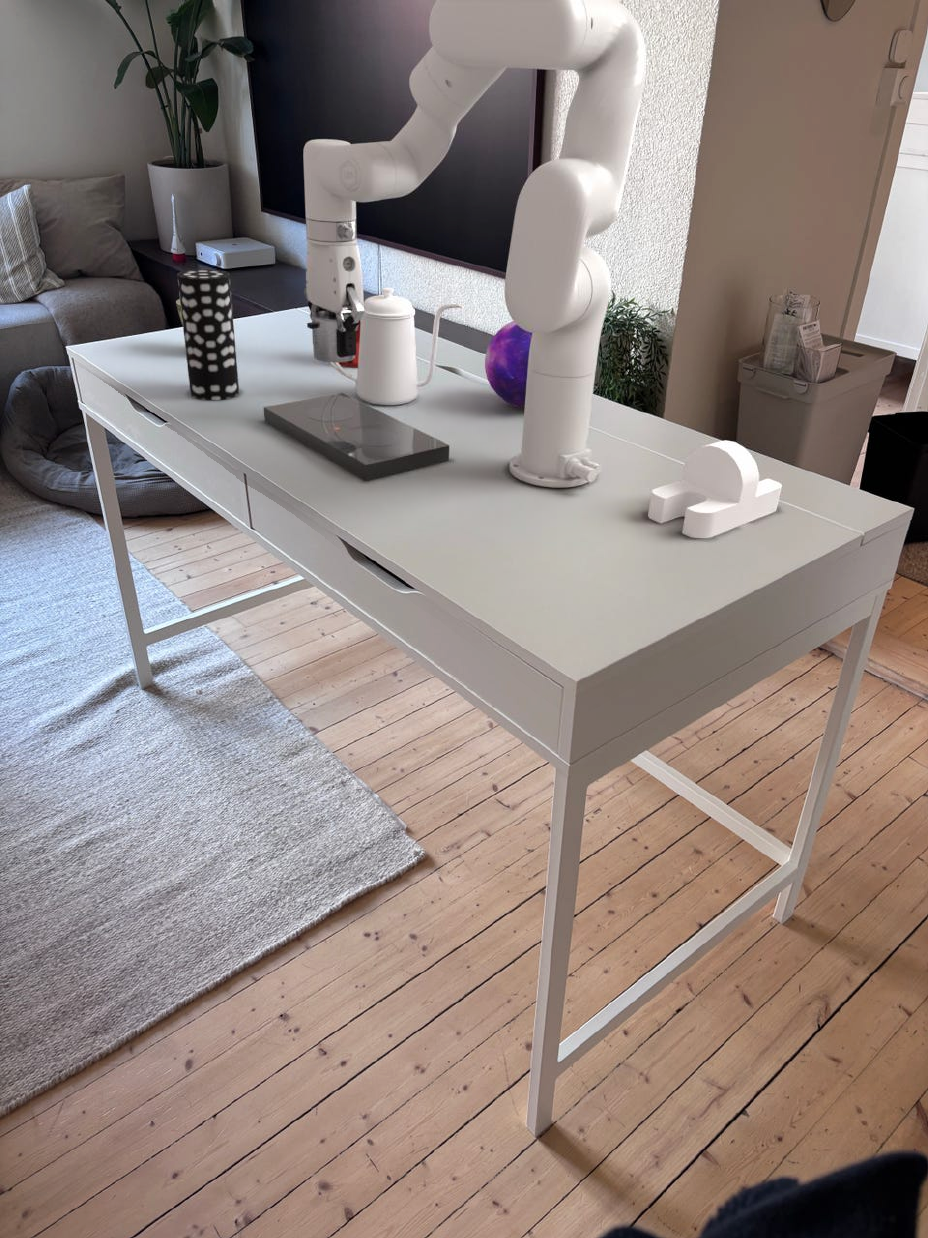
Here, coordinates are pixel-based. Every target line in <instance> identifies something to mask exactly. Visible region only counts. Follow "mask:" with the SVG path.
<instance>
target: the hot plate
mask: <svg viewBox="0 0 928 1238" xmlns="http://www.w3.org/2000/svg"><path fill="white" fill-rule="evenodd" d="M263 420H264V423H266V424H267V425H269V426H271V427H272V428H274V429H276V430H278V431H279V432H280V433H283V434H285V435H286V436H288V437H289V438H291V439H293V440H294V441H296V442H297V443H300V444H302V445H303V446H305V447H306V448H308V449H309V450H312V451H314V452H315V453H317V454H319V455H321V456H322V457H324V458H326V459H327V460H329V461H330V462H332V463H334V464H336V465H337V466H339V467H341V468H342V469H344V470H346V471H348V472H349V473H351V474H353V475H354V476H356V477H357V478H359V479H361V480H362V481H364V482H369V481H373V480H376V479H381V478H385V477H389V476H393V475H397V474H401V473H406V472H409V471H413V470H418V469H421V468H425V467H428V466H433V465H436V464H441V463H445V462H449V461H450V444H447V443H445V442H444V441H442V440H440V439H438V438H436V437H433V436H431V435H430V434H427V433H426V432H423V431H421V430H420V429H417V428H415V427H413V426H411V425H410V424H407V423H405V422H403V421H400V420H399V419H396V418H395V417H393V416H390V415H389V414H387V413H384V412H382V411H380V410H378V409H376V408H374V407H372V406H370V405H368V404H367V403H364V402H362V401H360V400H358V399H356V398H354V397H352V396H349V395H347V394H345V393H343V392H339V393H334V394H328V395H322V396H317V397H311V398H306V399H301V400H296V401H290V402H285V403H279V404H273V405H268V406H263Z"/></svg>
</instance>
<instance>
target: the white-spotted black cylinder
mask: <svg viewBox="0 0 928 1238" xmlns="http://www.w3.org/2000/svg"><path fill="white" fill-rule="evenodd" d="M177 283H178V284H177V285H178V292H179V293H178V295H179V299H180V303H181V312H182V321H183V324H182V330H183V339H184V347H185V348H184V349H185V356H186V364H187V375H188V384H189V393H190V396H191V397H192V398H195V399H198V400H203V401H204V400H205V401H223V400H229V399H232V398H234V397H236V396H238V395H239V394H240V385H239V373H238V362H237V352H236V351H237V349H236V339H235V327H234V326H235V325H234V315H233V314H234V313H233V303H232V291H231V279H230V273H229V272H227V271H225V270H219V269H209V268H204V269H203V268H201V269H187V270H183V271H179V272H178V273H177Z"/></svg>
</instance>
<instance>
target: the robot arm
mask: <svg viewBox="0 0 928 1238" xmlns="http://www.w3.org/2000/svg"><path fill="white" fill-rule="evenodd" d="M428 33H429V39H430V43H431V45H432V46H431V47H430V49H429V50H428V51H427V52H426V53H425V55H424V56H423V57H422V58H421V59H420V61H419V62H418V63H417V64H416V65H415V67H414V68H413V69H412V71H411V73H410V75H409V79H408V80H409V81H408V83H409V89H410V93H411V95H412V97H413V99H414V101H415V104H416V105H417V106H416V108H415V110H414V113H413V114H412V116H411V117H410V118H409V120H408V121H407V122H406V124H405V125H404V126H403V127H402V128H401V130H400V131H399V132H398V133H397V134H396V135H395V136H394V137H393V138H392V139H391V140H389V141H388V140H387V141H375V142H361V143H352V144H351V143H350V142H348V141H345V140H340V139H328V138H322V139H321V138H320V139H319V138H316V139H311V140H308V141H307V142H306V143H305V145H304V147H303V154H302V155H303V156H302V158H303V180H304V182H303V183H304V205H305V206H304V208H305V209H304V210H305V230H306V231H305V235H306V236H305V237H306V242H307V244H306V259H305V280H306V281H305V288H304V290H303V294H304V296H305V299H306V301H307V307H308V309H309V311H310V313H309V318H310V320H311V321H312V316H313V315H314V313H316V312H320V311H331V312H334V313H335V314H336V318H337V322H338V326H339V330H340V331H337V355H338V357H341V358H342V357H348V356H354V355H356V330H358V324H359V323H360V319H361V318H362V316H363V314H364V308H363V302H364V282H363V281H364V280H363V270H362V269H363V268H362V260H361V255H360V249H359V244H358V243H357V202H358V203H370V202H371V203H372V202H375V201H376V202H378V201H381V200H382V201H383V200H389V199H397V198H401V197H405V196H408V195H409V194H410V193H412V192H413V191H415V190H416V189H417V188H418V187H419V186H421V184H422V183H423V182H424V181H425V180H426V179H427V178H428V177H429V176H430V175H431V174H432V172H433V171H434V170H435V169H436V168H437V167H438V166H439V165H440V164H441V162H442V161H443V160H444V158H445V157H446V155H447V154H448V152H449V150H450V148H451V146H452V143H453V140H454V138H455V136H456V132H457V129H458V128H457V127H458V124H459V123H460V121H461V120H462V119H463V118H464V117H465V116H466V115H467V113H469V111H470V110H471V109H472V108H473V107H474V106H475V104H476V103H477V102H478V101H479V100H480V98H482V96H483V95H484V94H485V93H486V91H488V89H489V88H490V87H492V85H493V84H494V83H495V82H496V81H497V80H498V79H499V78H500V77H501V75H502V74H503V73H504V72H505V70H507V69H532V70H549V71H551V70H555V71H573V72H576V73H577V76H578V83H577V87H576V89H575V92H574V95H573V96H572V99H571V101H570V105H569V108H568V111H567V115H566V119H565V126H564V133H563V138H562V144H561V149H560V153H559V156H558V159H557V158H556V159H553V160H552V159H551V160H550V161H547V162H545V163H543V164H541V165H539V166H538V167H537V168H535V170H533V172H531V174H530V175H529V176H528V178H527V179H526V181H525V182H524V184H523V186H522V188H521V190H520V193H519V196H518V199H517V202H516V207H515V211H514V212H515V213H514V219H513V225H512V232H511V239H510V244H509V251H508V258H507V265H506V272H505V278H504V301H505V306H506V309H507V312H508V314H509V315H510V318H511V319H512V321H514V322H515V323H516V324H517V325H518V326H519V327H520V328H522V329H524V330H525V331H528V332H531V333H532V338H531V343H530V350H529V360H528V371H527V384H526V397H525V407H524V410H523V412H524V413H523V425H522V435H521V436H522V438H521V447H520V448H521V449H520V453H517V454H516V455H515V456H513V457H512V458H511V459H510V461H509V466H508V467H509V472H510V473H511V475H512V476H513V477H515V478H516V479H518V480H519V481H522V482H524V483H527V484H530V485H533V486H538V487H545V488H553V489H554V488H557V489H559V488H561V489H563V488H574V487H579V486H583V485H586V484H587V483H593V482H594V481H595V480H596V478H597V477H598V476H597V475H600V474H601V472H602V470H603V466H602V465H601V464H598V463H596V462H593V461H592V452H593V450H592V449H591V448H589V447H588V440H589V431H590V422H591V414H592V405H593V398H594V397H593V395H594V387H595V378H596V371H597V363H598V356H599V350H600V349H599V348H600V342H601V338H602V337H601V336H602V330H603V327H604V322H605V318H606V314H607V311H608V306H609V302H610V296H611V289H612V285H611V282H612V281H611V276H610V271H609V267H608V266H607V264H606V263H607V262H606V261H605V260H604V259H603V257H602V256H601V255H600V254H599V252H597V251H595V250H594V249H592V248H590V247H587V246H584V245H585V239H588V238H592V237H595V236H597V235H599V234H601V233H603V232H605V231H607V230H608V229H609V228H610V227H611V225H612V224H613V223H614V221H615V220H616V218H617V216H618V214H619V210H620V205H621V200H622V196H623V190H624V186H625V181H626V176H627V172H628V167H629V161H630V156H631V152H632V147H633V141H634V134H635V130H636V124H637V121H638V120H637V119H638V114H639V110H640V107H641V102H642V97H643V92H644V88H645V82H646V76H647V75H646V74H647V62H648V61H647V50H646V43H645V39H644V36H643V33H642V30H641V27H640V25H639V24H638V22H637V20H636V19H635V17H634V15H633V14H632V13H631V11H630V10H628V8H627V7H625V5H623V4H622V3H621V2H620V1H619V0H436V1H435V3H434V4H433V6H432V9H431V12H430V16H429V22H428ZM342 307H347V308H348V309H347V310H343V309H342ZM343 315H348V317H347V319H346V320H345V322H344V318H343ZM311 330H312V333H311V334H312V335H313V329H311Z"/></svg>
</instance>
